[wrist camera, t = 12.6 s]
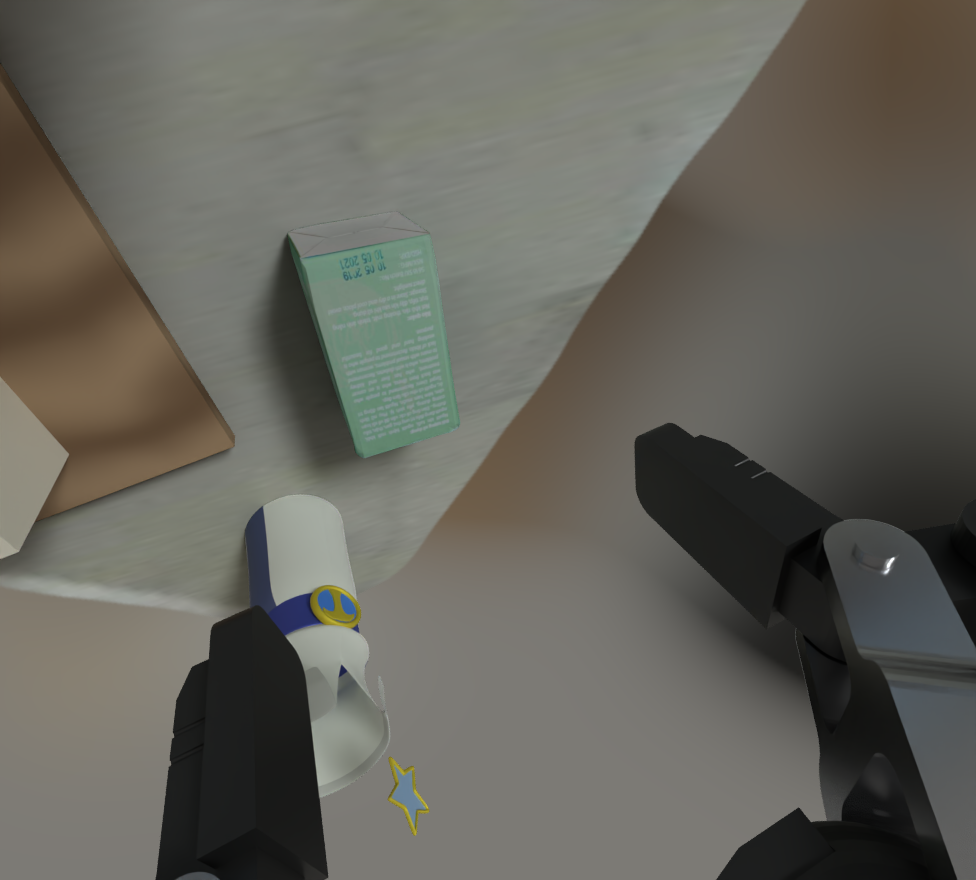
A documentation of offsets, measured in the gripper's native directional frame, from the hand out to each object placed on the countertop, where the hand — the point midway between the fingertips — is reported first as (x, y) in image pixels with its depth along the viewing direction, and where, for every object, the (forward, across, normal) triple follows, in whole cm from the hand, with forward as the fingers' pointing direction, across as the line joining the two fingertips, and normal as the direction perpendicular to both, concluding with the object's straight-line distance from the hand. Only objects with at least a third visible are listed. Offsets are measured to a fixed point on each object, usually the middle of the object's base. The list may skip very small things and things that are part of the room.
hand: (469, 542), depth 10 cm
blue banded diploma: (+28, +10, +20) cm, 36 cm away
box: (+28, -2, +5) cm, 29 cm away
